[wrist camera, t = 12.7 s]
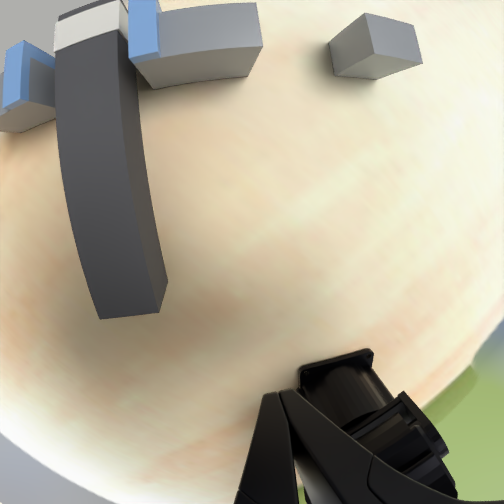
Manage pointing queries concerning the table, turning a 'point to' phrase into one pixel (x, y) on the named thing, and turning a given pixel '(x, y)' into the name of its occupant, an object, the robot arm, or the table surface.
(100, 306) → the dark grey long bar
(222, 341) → the table surface
